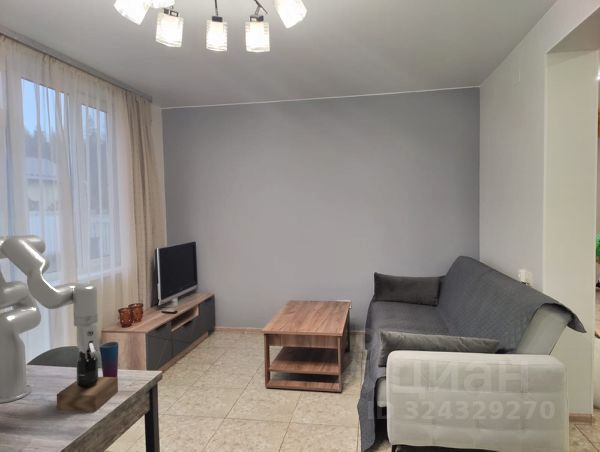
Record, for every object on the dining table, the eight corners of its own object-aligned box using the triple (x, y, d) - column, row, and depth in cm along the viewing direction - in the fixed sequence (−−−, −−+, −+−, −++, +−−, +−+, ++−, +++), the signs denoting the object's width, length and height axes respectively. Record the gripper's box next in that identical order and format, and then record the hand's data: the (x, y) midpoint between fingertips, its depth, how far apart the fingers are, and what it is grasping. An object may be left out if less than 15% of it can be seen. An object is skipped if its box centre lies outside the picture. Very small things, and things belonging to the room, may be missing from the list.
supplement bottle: (75, 389, 135) (74, 355, 134) (78, 381, 141) (77, 349, 140) (97, 385, 137) (96, 352, 137) (99, 377, 144) (98, 346, 143)
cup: (112, 385, 151) (110, 347, 151) (97, 383, 153) (95, 346, 152) (123, 377, 158) (122, 341, 157) (108, 376, 159) (107, 340, 159)
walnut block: (57, 411, 133) (56, 394, 133) (82, 391, 147) (82, 376, 147) (96, 412, 132) (95, 395, 132) (118, 392, 146) (117, 377, 146)
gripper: (104, 322, 134) (106, 372, 135) (90, 312, 147) (91, 358, 148) (81, 327, 129) (82, 379, 130) (67, 316, 142) (69, 364, 143)
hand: (87, 367), depth 139 cm, fingers closed on supplement bottle, 6 cm apart
